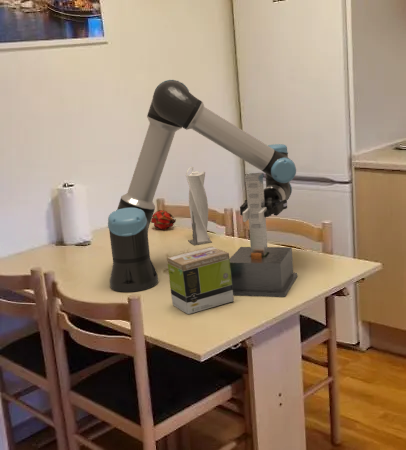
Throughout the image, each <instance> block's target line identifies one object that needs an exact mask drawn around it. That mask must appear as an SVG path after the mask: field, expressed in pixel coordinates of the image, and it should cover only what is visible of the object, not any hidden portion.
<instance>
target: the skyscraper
mask: <svg viewBox="0 0 406 450" xmlns="http://www.w3.org/2000/svg"><path fill="white" fill-rule="evenodd" d="M190 170H191V173H190V174H188V173H189V171H190ZM185 174H186V175H185V177H186V180H187V183H188V187H189V188H188V189H189V190H188V208H189V214H190V215H189V216H190V220H191V228H192V234H191V235H192V239H188V240H187V241H188V243H190V244H191V245H193V246H200V245H201V246H202V245H205V244H211V243H213V241H212V240H211V238H210V236H209V234H208V222H209V204H208V197H207V192H206V189H205V186H204V184H205V177H206V171H205V170H203V171H201V172H200V171H196V170H195V171H194V167H193V166H190V167H188V169H187V171H186V173H185Z"/></svg>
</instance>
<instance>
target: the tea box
mask: <svg viewBox="0 0 406 450" xmlns="http://www.w3.org/2000/svg"><path fill="white" fill-rule="evenodd" d="M166 262H167V269H168V276H169V277H168V278H169V285H170V287H169V288H170V294H171V295H170V296H171V301H172V306H174V307H175V308H176V309H178V310H180V311H182V312H183V313H185V314H186V315H191V314H194V313H197V312H200V311H205V310H208V309H211V308H215V307H218V306H222V305H225V304H229V303H232V302H234V300H235V299H234V295H233V288H232V278H231V268H230V253H229V252H227V251H224V250H221V249H220V248H216V247H214V246H207V247H204V248H201V249H197V250H196V249H195V250H192V251H187V252H185V253H181V254H177V255H172V256H168V257H167V258H166Z"/></svg>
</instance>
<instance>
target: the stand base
mask: <svg viewBox="0 0 406 450" xmlns="http://www.w3.org/2000/svg"><path fill="white" fill-rule="evenodd" d="M267 248H268V255H267V257H262V253H251V246H240V247H239V248H238V249H237V250H236V251H235V253H234V254H233V255H232V256H231V257H229V259H230V268H231V278H232V288H233V296H240V297H241V296H243V297H244V296H245V297H246V296H247V297H269V298H270V297H271V298H273V297H274V298H286V296H287V295H288V293H289V291H290V290H291V288H292V286H293V284H294V282H296V280H297V278H298V272H294V263H293V248H292V246H288V247H287V246H286V247H285V246H284V247H283V246H267Z"/></svg>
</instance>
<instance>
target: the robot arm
mask: <svg viewBox="0 0 406 450" xmlns="http://www.w3.org/2000/svg"><path fill="white" fill-rule="evenodd" d="M146 118H147V120H148V122H149V125H148V127H147V131H146V133H145V138H144V140H143V143H142V146H141V150H140V153H139V155H138V158H137V162H136V165H135V167H134V168H135V169H134V170H133V171H134V172H133V174H132V177H131V181H130V184H129V187H128V190H127V192H126V194H123V195H121V197H120V200H119V203H118V206H117V209H115V210H114V211H112V212H111V213H110V214H109V215H108V217H107V219H108V220H107V221H108V222H107V228H108V231H109V239H110V247H111V248H110V249H111V256H112V266H111V267H112V268H111V271H110V272H111V273H110V278H109V284H110V285H109V288H111V290H113V291H115V292H121V293H122V292H123V293H133V292H140V291H144V290H148V289H151V288H153V287H155V286H156V285H158V283H159V277H158V273H157V270H156V268H155V266H154V264H153V262H152V260H151V259H152V258H151V254H150V244H149V227H150V224H151V220H152V218H153V217H152V216H153V214H154V213H155V209H156V205H155V204H154V202H153V201H154V199H155V195H156V191H157V189H158V185H159V183H160V179H161V178H162V173H163V170H164V167H165V164H166V161H167V158H168V156H169V153H170V150H171V146H172V144H173V142H174V141H173V140H174V138H175V134H176V132H177V131H180V130H181V129H182V128H183V129H184V130H186V131H187V130H193V131H195V132H196V133H198V134H200V135H202V136H203V137H204V138H206V139H208V140H209V141H211V142H213V143H214V144H216V145H218V146H220V147H221V148H223V149H225V150H227V152H230V153H231V154H233V155H235V156H236V157H238V158H240V159H242V160H243V161H244V162H246V163H248V164H250V165H252V166H253V167H255V168H256V169H257V170H260V171H262V173H263V174H265V188H264V202H265V207H264V208H263V209H262V210H261V211H260V212H259V222H262V221H263V220H264V219H265V218H266V219H267V218H269V217H271V216H272V215H273V216H278V215H280V214H281V212H283V211H284V210H286V209H288V200H289V199H290V197H291V195H292V191H293V188H292V184H291V183H290V182H291V181H293V179H294V178H295V177H296V175H297V168H296V164H295V163H294V161H293V159H291V158H289V157H288V156H289V155H288V154H289V151H288V146H287V145H286V144H283V143H282V144H281V143H275V144H274V143H273V144H268V145H267V144H266V143H264V142H262V141H261V140H260V139H258V138H256V137H254V136H253V135H251V134H249V133H247V131H244V130H243V129H241V128H240V127H238V126H236V125H235V124H233V123H231V122H229V120H226V119H225V118H223V117H222V116H220V115H219V114H218V113H215V112H213V111H212V110H210V109H208V108H207V107H205V105H204V102H203V101H202V100H200V99H199V98H197V97H196V96H194V95H193V94H192V93H191V92H190V90H189V89H188V87H187V86H186V84H184V83H183V82H181V81H179V80H175V79H168V80H164V81H162V82H160V83H159V84H158V85H157V86H156V87H155V90H154V92H153V95H152V100H151V102H150V105H149V109H148V112H147V114H146ZM239 215H240V216H242V222H244V223H246V222H247V221H249V216H248V203H247V199H245V200H244V202H243V204H241V206H239Z"/></svg>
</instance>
